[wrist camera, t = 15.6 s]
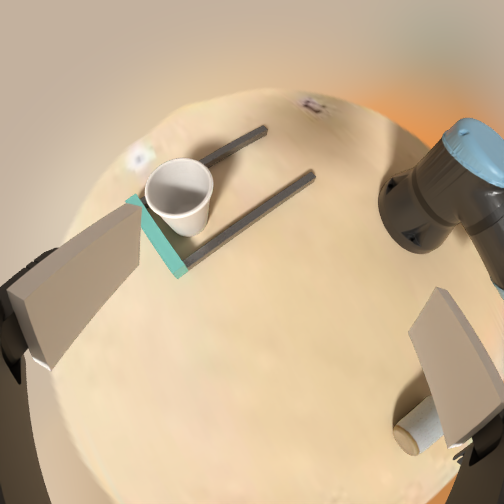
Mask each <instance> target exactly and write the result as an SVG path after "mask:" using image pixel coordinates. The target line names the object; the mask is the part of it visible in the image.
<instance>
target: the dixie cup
mask: <svg viewBox="0 0 504 504" xmlns="http://www.w3.org/2000/svg"><path fill="white" fill-rule="evenodd" d="M212 192H213V178H212V175H211V173H210V171H209V169H208V168H207V167H206V166H205V165H204V164H202V163H201V162H199V161H197V160H194V159H190V158H176V159H172V160H169V161H166V162H164V163H163V164H161V165H160V166H158V167H157V168H156V169H155V170H154V171H153V172H152V173H151V175H150V176H149V178H148V180H147V183H146V186H145V197H146V201H147V203H148V205H149V206H150V208H151V209H152V210H153V211H154V212H155V213H157V214H159V215H160V216H161V217H162V218H163V220H164V221H165V222H166V223H167V224H168V225H169V226H170V227H171V228H172V229H173V230H174V231H175V232H176V233H177V234H178V235H180V236H184V237H192V236H195V235H197V234H199V233H200V232H202V231H203V230H204V228H205V227H206V224H207V220H208V212H209V204H210V197H211V195H212Z"/></svg>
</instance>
